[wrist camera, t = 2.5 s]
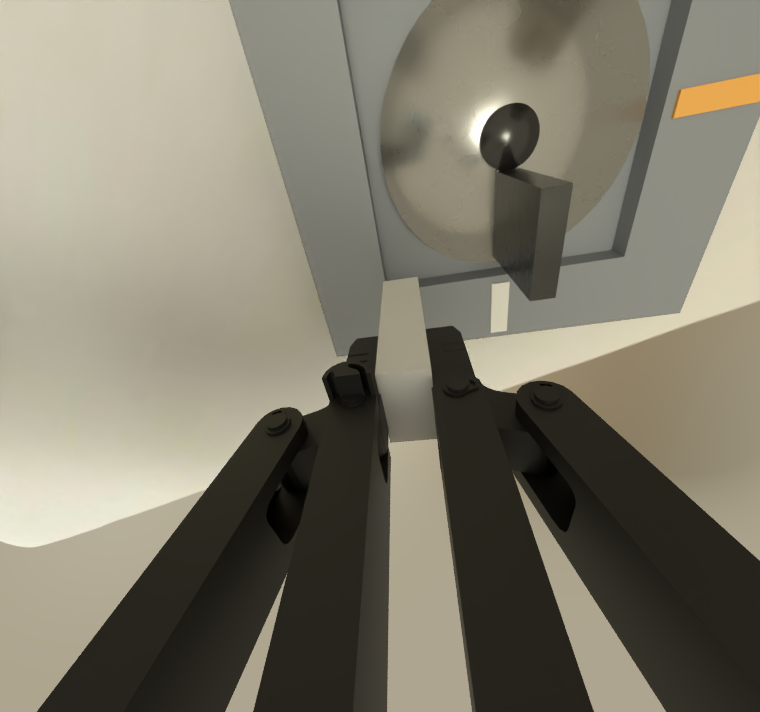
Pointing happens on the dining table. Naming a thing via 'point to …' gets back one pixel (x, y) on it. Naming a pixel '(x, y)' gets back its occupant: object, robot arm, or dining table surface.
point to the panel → (582, 243)
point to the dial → (512, 125)
